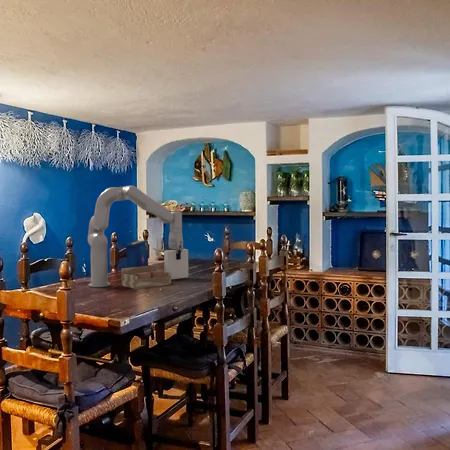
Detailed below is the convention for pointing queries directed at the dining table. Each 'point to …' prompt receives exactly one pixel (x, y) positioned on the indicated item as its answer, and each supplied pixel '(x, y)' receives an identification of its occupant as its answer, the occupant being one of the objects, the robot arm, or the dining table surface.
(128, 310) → the dining table surface
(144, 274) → the offcut
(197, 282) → the dining table surface
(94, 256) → the robot arm
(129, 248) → the book
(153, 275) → the offcut
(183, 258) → the tall sheet
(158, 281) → the rack
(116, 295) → the dining table surface
